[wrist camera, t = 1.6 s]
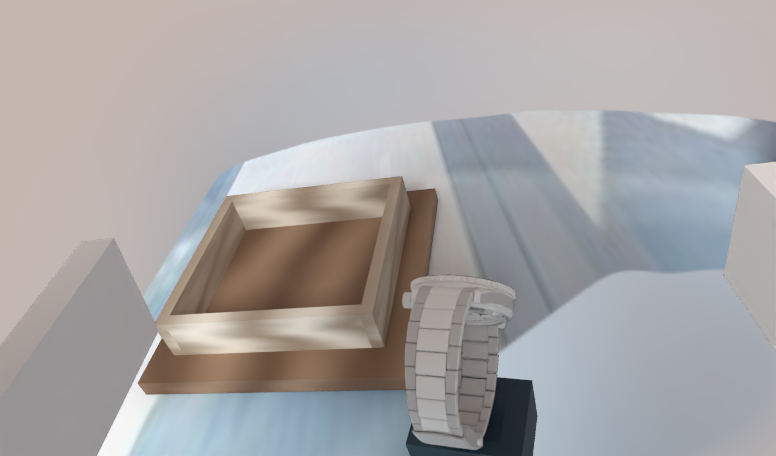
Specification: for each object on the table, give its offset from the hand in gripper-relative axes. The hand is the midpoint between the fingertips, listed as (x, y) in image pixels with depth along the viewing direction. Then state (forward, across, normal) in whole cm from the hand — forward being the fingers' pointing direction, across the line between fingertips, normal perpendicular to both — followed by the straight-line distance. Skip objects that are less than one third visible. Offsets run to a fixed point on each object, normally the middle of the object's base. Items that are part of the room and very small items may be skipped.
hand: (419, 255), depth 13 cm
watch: (+10, +1, -20) cm, 22 cm away
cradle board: (+24, -10, -19) cm, 32 cm away
